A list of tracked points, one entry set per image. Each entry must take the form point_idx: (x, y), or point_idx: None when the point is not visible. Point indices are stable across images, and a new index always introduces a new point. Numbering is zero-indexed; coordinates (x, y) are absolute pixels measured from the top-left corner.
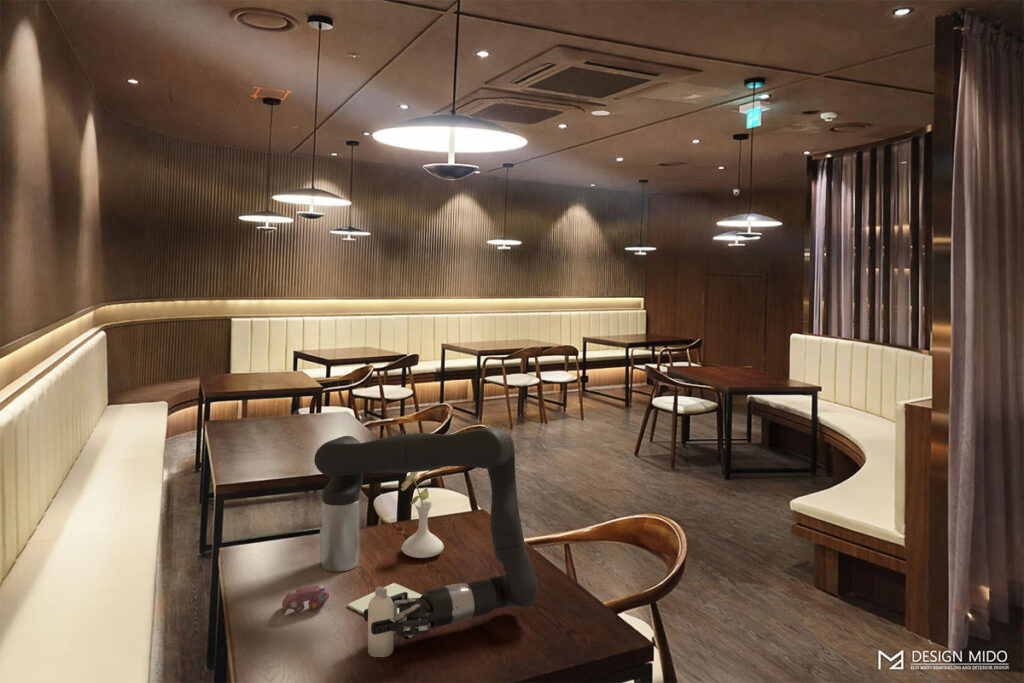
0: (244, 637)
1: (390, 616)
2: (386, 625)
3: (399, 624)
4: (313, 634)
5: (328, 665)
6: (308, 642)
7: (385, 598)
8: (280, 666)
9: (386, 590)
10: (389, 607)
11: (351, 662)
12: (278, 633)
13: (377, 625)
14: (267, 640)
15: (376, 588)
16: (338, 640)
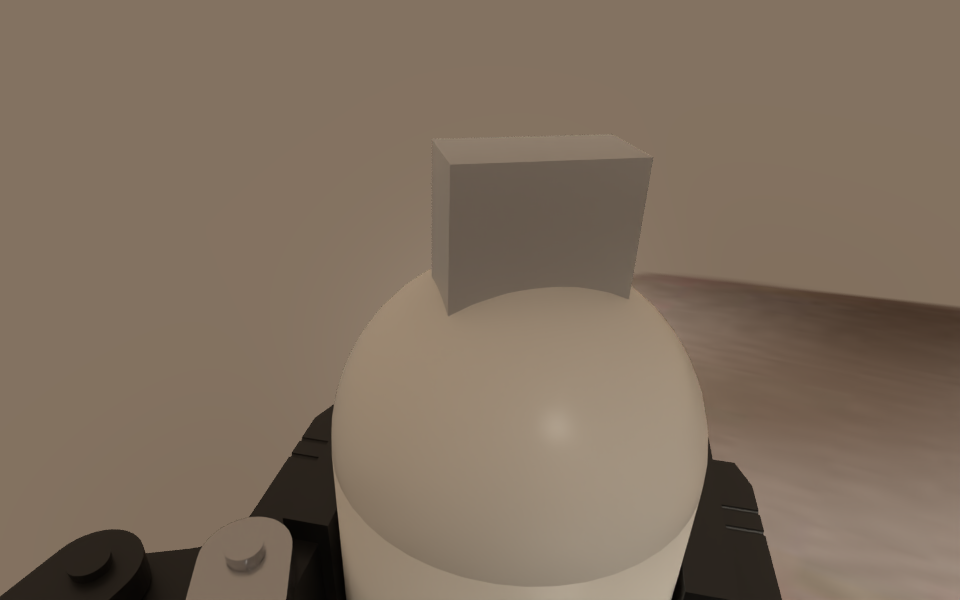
0: (898, 312)
1: (340, 531)
2: (277, 482)
3: (80, 539)
4: (896, 484)
5: None
6: (800, 441)
7: (436, 302)
8: None
9: (444, 181)
10: (340, 413)
11: None
12: (925, 384)
13: None
14: (858, 348)
15: (585, 138)
16: (783, 563)
